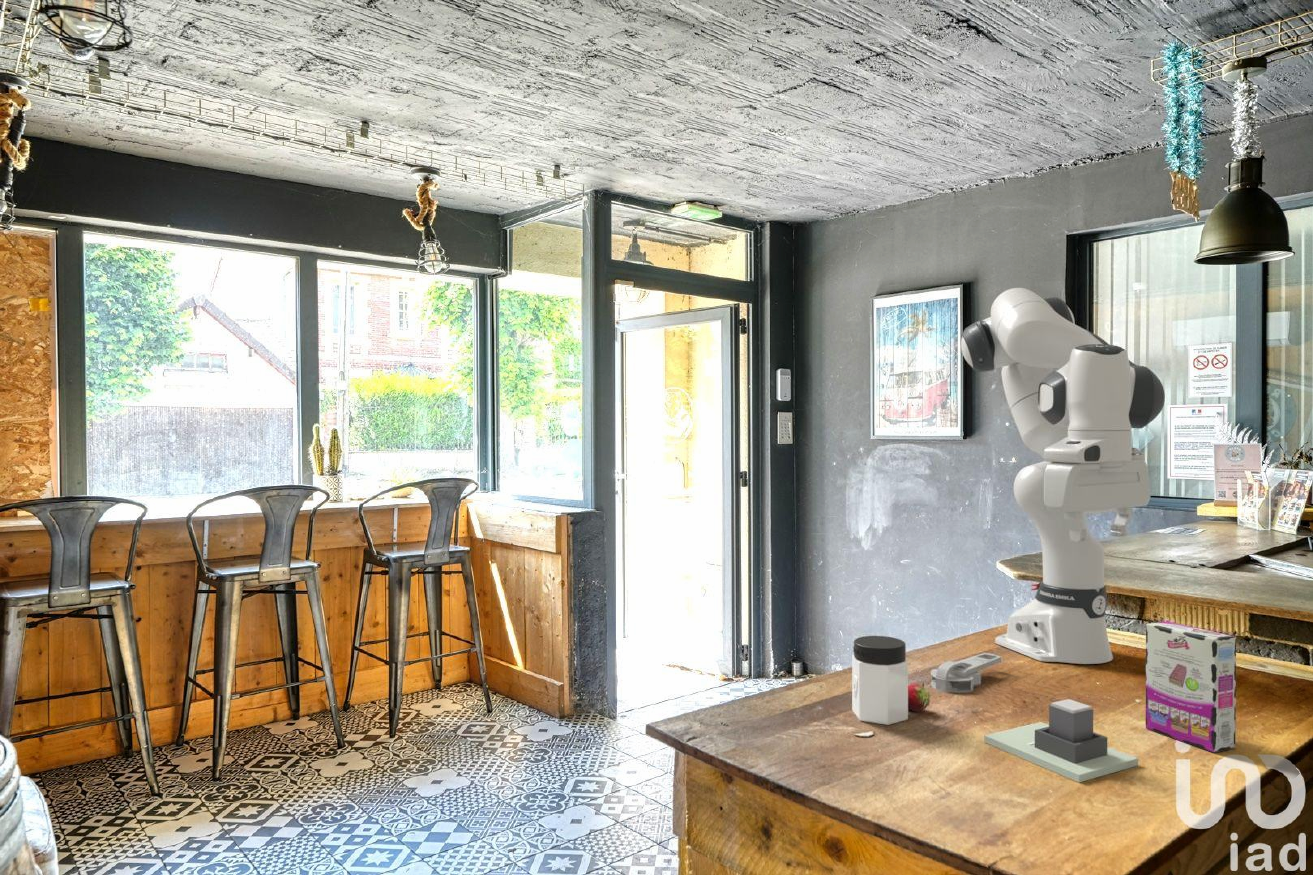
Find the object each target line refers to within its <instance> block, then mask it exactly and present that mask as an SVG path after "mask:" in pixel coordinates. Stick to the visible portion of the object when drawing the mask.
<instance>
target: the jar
mask: <svg viewBox="0 0 1313 875" xmlns="http://www.w3.org/2000/svg"><path fill="white" fill-rule="evenodd" d="M906 648H907V645H906V642H905V641H903V640H902V639H899V638H896V637H893V636H892V637H891V636H884V635H865V636H860V637H857V638H855V639H854V641H853V650H852V652H853V654H852V655H851V687H852V688H851V697H852V699H851V701H852V703H851V709H852V712H853V713H854V715H855V716H856V718H857V719H858V720H859V721H860V722H865V723H866V722H867V723H870V724H871V723H874V724H880V725H883V726H884V725H885V726H889V725H893V724H897V723H900V722H903V721H904V722H905V721H907V720H909V709H908V686H909V662H908V660H907V659H906V658H907V657H906V656H907V654H906V652H907V651H906V650H907V649H906Z"/></svg>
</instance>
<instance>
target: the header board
mask: <svg viewBox="0 0 1313 875" xmlns="http://www.w3.org/2000/svg"><path fill="white" fill-rule="evenodd" d="M983 737H984V738H983V742H984V743H985V744H988V745H990V746H993V747H995V748H998V749H1000V750H1002V751H1004V752H1006V753H1009V754H1011V755H1014V756H1016V757H1019V758H1021V759H1023V760H1025V761H1028V762H1030V763H1032V764H1035V765H1037V766H1040V767H1041V768H1044V769H1047V770H1049V771H1051V772H1053V773H1055V774H1057V775H1060V776H1061V777H1062V776H1063V777H1065V778H1068V779H1070V780H1072V781H1074V782H1076V783H1082V782H1085V781H1088V780H1093V779H1096V778H1098V777H1103V776H1107V775H1110V774H1112V773H1116V772H1120V771H1123V770H1124V771H1125V770H1128V769H1130V768H1134V767H1137V766H1139V758H1138V757H1136V756H1133V755H1130V754H1129V753H1127V752H1123V751H1120V750H1118V749H1115V748H1112V747H1110V746H1108V736H1106V735H1102V734H1099V733H1097V732H1094V731H1093V739H1089V740H1086V741H1082V742H1078V743H1072V742H1069V741H1067V740H1064V739H1061V738H1059V737H1056V736H1054V735H1051V734H1049V723H1045V722H1043V721H1039V722H1034V723H1031V724H1027V725H1022V726H1017V727H1013V728H1009V729H1005V730H1002V731H997V732H993V733H988V734H985V735H983Z"/></svg>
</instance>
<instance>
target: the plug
mask: <svg viewBox="0 0 1313 875" xmlns="http://www.w3.org/2000/svg"><path fill="white" fill-rule="evenodd" d="M1048 725H1049V734H1051V735H1054V736H1056V737H1059V738H1061V739H1064V740H1067V741H1069V742H1072V743H1078V742H1082V741H1086V740H1089V739H1093V732H1094V709H1093V708H1092V706H1091V705H1088V704H1086V703H1082V702H1079V701H1075V700H1073V699H1070V698H1067V699H1063V700H1058V701H1054V702H1051V704H1050V705H1049V706H1048Z"/></svg>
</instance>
